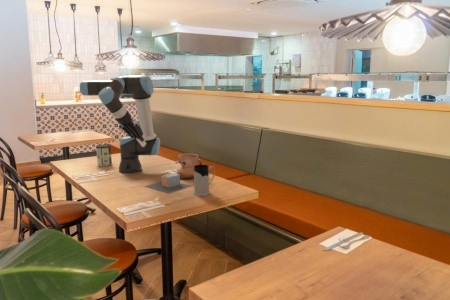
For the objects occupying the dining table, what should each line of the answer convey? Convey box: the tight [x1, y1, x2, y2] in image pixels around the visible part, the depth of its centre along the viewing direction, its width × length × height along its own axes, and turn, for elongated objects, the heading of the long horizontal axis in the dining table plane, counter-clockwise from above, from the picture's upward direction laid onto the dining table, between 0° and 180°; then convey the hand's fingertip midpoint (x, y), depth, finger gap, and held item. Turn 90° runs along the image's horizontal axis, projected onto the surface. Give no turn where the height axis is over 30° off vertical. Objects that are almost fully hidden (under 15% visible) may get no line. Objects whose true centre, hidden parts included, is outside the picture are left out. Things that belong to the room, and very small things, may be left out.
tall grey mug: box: [193, 164, 216, 197], centre depth 204 cm, size 9×14×15 cm, turn 135°
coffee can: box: [95, 144, 113, 167], centre depth 274 cm, size 10×10×14 cm
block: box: [160, 172, 181, 188], centre depth 217 cm, size 6×6×9 cm
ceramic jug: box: [174, 153, 203, 180], centre depth 236 cm, size 18×14×14 cm
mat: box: [143, 180, 193, 194], centre depth 216 cm, size 22×18×1 cm
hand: (144, 145), depth 210 cm, fingers closed
